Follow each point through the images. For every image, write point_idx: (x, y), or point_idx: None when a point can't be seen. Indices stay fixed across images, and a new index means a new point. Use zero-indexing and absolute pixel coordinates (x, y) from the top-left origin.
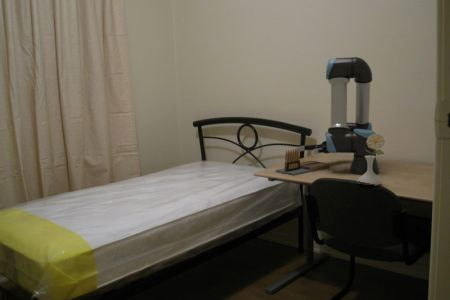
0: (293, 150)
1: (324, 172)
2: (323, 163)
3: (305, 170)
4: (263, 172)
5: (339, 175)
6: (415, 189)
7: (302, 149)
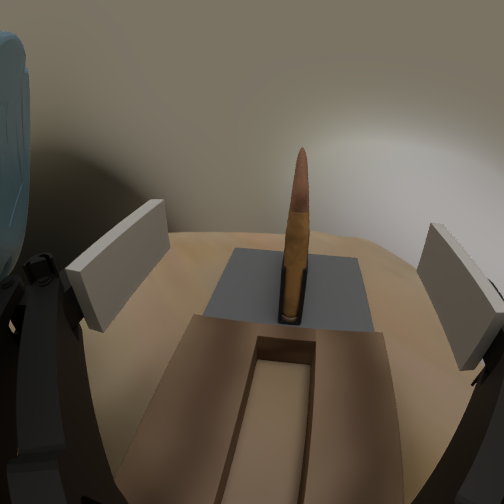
0: (297, 166)
1: (107, 357)
2: (160, 501)
3: (221, 309)
4: (376, 245)
5: None
6: None
7: (455, 319)
